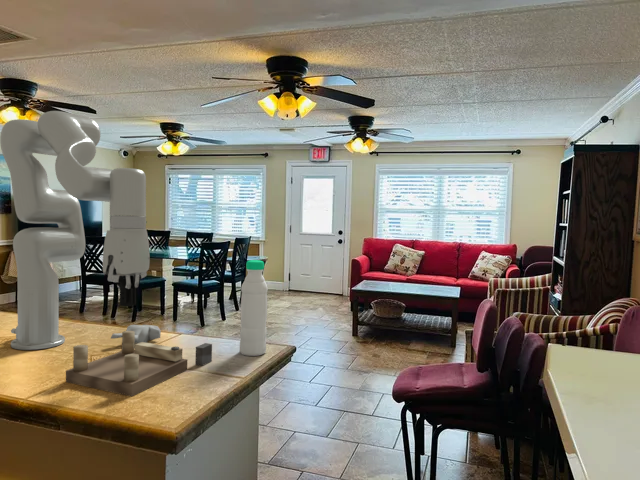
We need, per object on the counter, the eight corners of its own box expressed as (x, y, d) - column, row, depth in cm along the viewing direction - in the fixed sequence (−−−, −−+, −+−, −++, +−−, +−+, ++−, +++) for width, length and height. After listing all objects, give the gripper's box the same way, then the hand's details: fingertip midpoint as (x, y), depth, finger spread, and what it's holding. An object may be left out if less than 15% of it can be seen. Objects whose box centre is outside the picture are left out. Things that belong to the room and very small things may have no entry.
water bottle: (261, 358, 123) (263, 262, 121) (235, 355, 124) (237, 261, 123) (269, 350, 130) (271, 260, 128) (245, 348, 131) (247, 258, 130)
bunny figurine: (169, 324, 139) (138, 330, 125) (167, 341, 139) (136, 349, 124) (141, 321, 142) (107, 326, 127) (139, 338, 141) (105, 345, 127)
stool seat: (65, 381, 102) (66, 347, 101) (149, 350, 126) (150, 322, 125) (137, 397, 95) (137, 360, 94) (211, 361, 119) (212, 331, 118)
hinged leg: (182, 358, 111) (182, 346, 111) (175, 361, 109) (175, 349, 109) (141, 351, 116) (141, 340, 115) (134, 354, 113) (134, 342, 113)
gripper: (138, 223, 114) (138, 298, 115) (88, 223, 100) (88, 309, 101) (163, 224, 111) (163, 301, 112) (115, 224, 97) (115, 312, 98)
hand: (128, 305), depth 107 cm, fingers closed
